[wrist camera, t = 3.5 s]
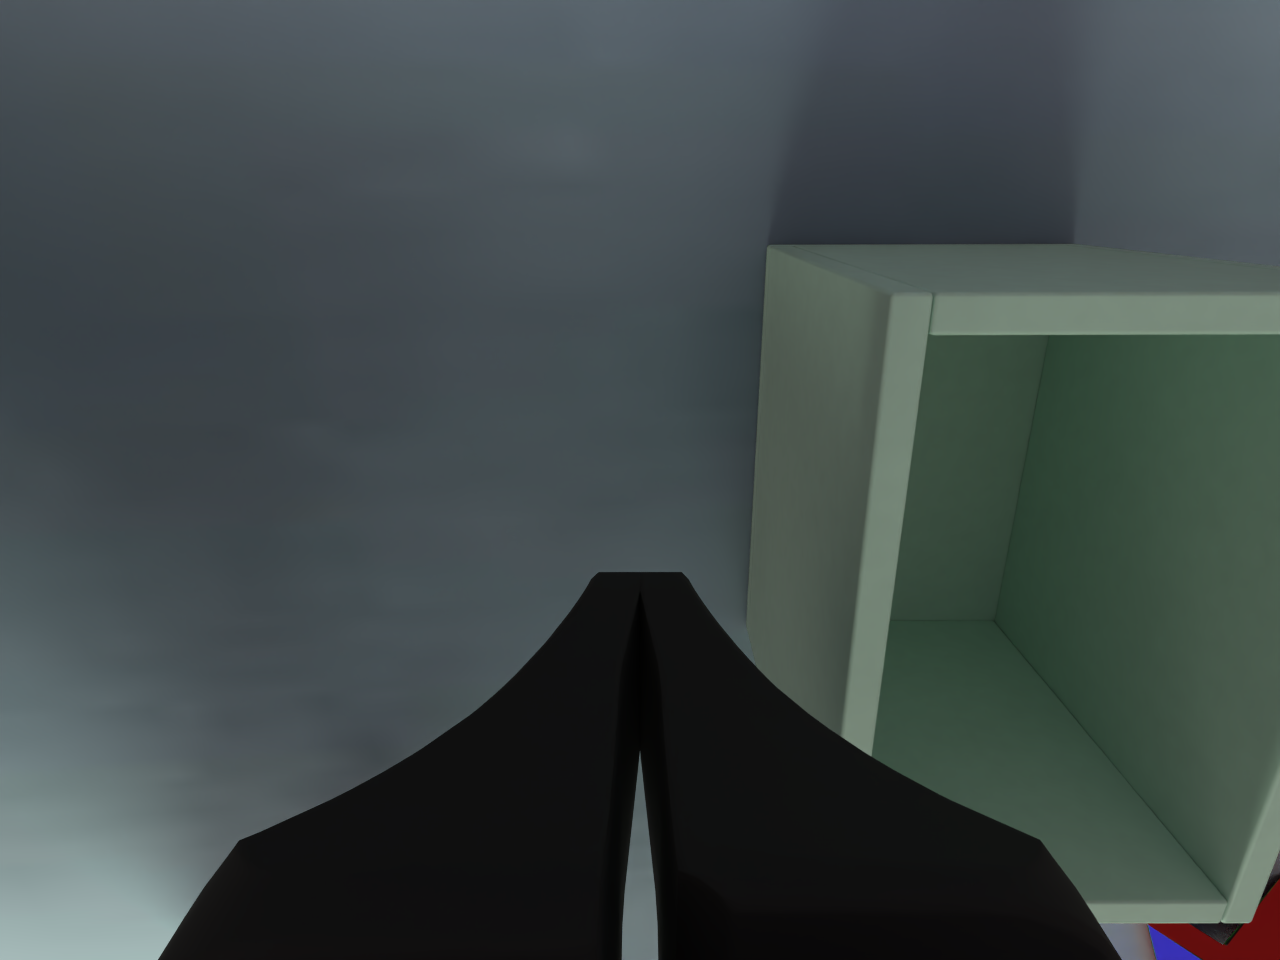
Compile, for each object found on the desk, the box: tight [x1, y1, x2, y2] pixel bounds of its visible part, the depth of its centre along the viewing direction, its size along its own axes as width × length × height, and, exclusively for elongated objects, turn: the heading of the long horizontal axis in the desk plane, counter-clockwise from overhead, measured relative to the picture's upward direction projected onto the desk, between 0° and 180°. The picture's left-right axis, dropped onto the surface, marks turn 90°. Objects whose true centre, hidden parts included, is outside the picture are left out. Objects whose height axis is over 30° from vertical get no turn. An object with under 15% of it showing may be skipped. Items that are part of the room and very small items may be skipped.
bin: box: [746, 244, 1280, 923], centre depth 15 cm, size 7×10×9 cm
